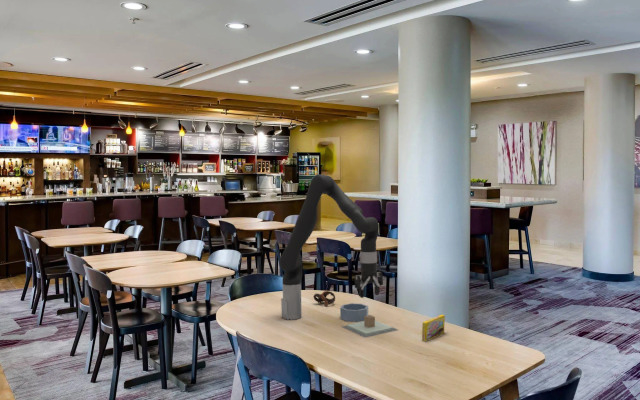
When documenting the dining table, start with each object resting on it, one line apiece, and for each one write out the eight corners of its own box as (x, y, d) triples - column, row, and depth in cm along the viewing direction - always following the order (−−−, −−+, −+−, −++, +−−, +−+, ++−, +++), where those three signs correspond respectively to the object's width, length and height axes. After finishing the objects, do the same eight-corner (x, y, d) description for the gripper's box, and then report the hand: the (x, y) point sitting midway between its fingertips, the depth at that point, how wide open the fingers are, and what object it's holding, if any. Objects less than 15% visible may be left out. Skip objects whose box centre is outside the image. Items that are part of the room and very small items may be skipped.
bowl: (351, 324, 252) (350, 311, 251) (336, 317, 263) (336, 306, 262) (373, 319, 258) (372, 307, 258) (357, 313, 269) (357, 302, 269)
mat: (364, 338, 230) (364, 337, 230) (341, 327, 246) (341, 326, 246) (398, 331, 240) (398, 329, 240) (373, 321, 256) (373, 319, 256)
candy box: (425, 342, 224) (425, 323, 224) (421, 341, 226) (421, 322, 225) (445, 332, 236) (445, 314, 236) (440, 332, 238) (440, 313, 237)
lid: (365, 335, 233) (365, 323, 232) (347, 326, 246) (346, 315, 245) (392, 329, 240) (392, 317, 240) (372, 321, 253) (372, 310, 253)
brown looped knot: (333, 302, 295) (336, 291, 291) (332, 313, 287) (336, 302, 283) (312, 297, 295) (315, 286, 291) (310, 309, 286) (314, 297, 282)
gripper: (376, 258, 248) (376, 292, 249) (351, 261, 241) (351, 296, 242) (386, 260, 242) (386, 295, 242) (360, 264, 234) (361, 300, 235)
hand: (369, 296), depth 242 cm, fingers open, 8 cm apart
